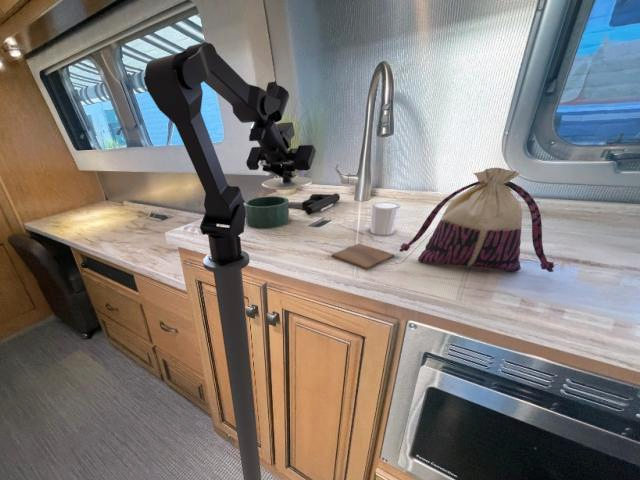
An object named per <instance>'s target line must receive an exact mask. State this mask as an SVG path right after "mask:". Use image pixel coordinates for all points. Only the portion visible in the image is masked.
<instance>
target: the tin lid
mask: <svg viewBox="0 0 640 480" xmlns="http://www.w3.org/2000/svg"><path fill="white" fill-rule="evenodd" d="M286 165H287V163H283V164H281V167H282V178H281V177H275V178H271V179H267V180H265V181H262V182H261V187H262V188H265V189H268V190H269V189H270V190H275V191H288V190H297V189H300V188H304V187H308V186H310V185H312V184H313V179H312V178H310V177H307V176H295V177H294V178H291V177H290V176H289V175H288V174H287V173H286V172H285V168H286Z"/></svg>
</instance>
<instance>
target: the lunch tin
mask: <svg viewBox="0 0 640 480" xmlns="http://www.w3.org/2000/svg"><path fill="white" fill-rule="evenodd" d="M289 202H290V200H289V198H287V197H284V196H278V195H277V196H276V195H268V196H266V195H265V196H259V197H253V198H250V199H248V200H245V203H244V206H245V210H246V216H245V225H246V226H247V227H250V228H253V229H275V228H279V227H282V226H284V225H287V224H288V223H289V219H290V208H289Z"/></svg>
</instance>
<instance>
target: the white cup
mask: <svg viewBox="0 0 640 480" xmlns="http://www.w3.org/2000/svg"><path fill="white" fill-rule="evenodd" d="M400 209H401V205H400V204H399V203H397V202H389V201H388V202H386V201H385V202H376V203H373V204H372V205H371V210H370V214H371V215H370V232H371V233H372V234H373V235H378V236H388V235H389V236H390V235H392V234H393V233H394V231H395V228H396V224H397V220H398V216H399V213H400Z"/></svg>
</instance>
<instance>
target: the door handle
mask: <svg viewBox="0 0 640 480" xmlns="http://www.w3.org/2000/svg"><path fill="white" fill-rule="evenodd" d="M340 199H341V196H340V194H339V193H336V192H335V193H331V194H330V193H326V194H324V193H323V194H322V193H313V194H311V195H309V198H308V199H306V200H304V201H302V202H301V201H289V209H302V211H305V214H307V215H314V214H316V213H318V212H321V213H322V212H323V211H325V210H327V209H329V208H330V207H331V208H332V206H334V204H335V203H337V202H338V201H340Z"/></svg>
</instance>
